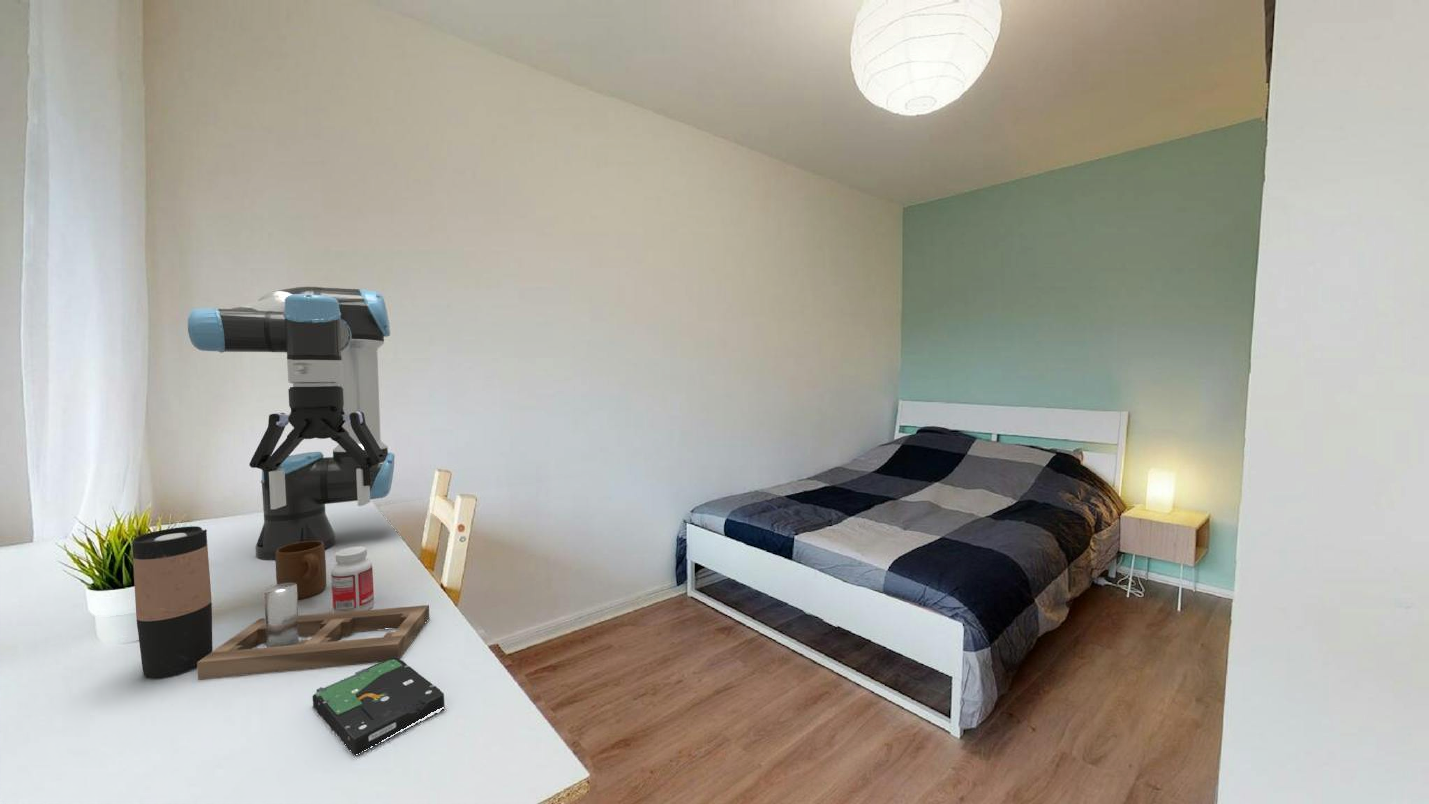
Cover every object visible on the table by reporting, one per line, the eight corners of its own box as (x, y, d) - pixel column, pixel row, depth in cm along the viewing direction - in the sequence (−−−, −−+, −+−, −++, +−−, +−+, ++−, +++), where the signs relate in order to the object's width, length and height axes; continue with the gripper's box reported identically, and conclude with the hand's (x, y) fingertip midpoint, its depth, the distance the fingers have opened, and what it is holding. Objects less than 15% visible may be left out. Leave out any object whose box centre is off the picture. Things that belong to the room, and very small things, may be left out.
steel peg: (277, 644, 81) (274, 583, 81) (305, 641, 82) (302, 581, 82) (260, 658, 77) (256, 594, 77) (290, 655, 78) (286, 592, 78)
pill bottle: (370, 598, 98) (367, 542, 97) (377, 609, 93) (375, 550, 93) (330, 609, 93) (327, 550, 93) (336, 621, 89) (333, 559, 88)
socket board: (261, 632, 85) (260, 618, 85) (429, 618, 90) (428, 605, 90) (198, 679, 72) (196, 662, 72) (398, 659, 77) (397, 643, 77)
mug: (341, 596, 98) (339, 549, 98) (292, 612, 92) (289, 561, 92) (319, 581, 105) (317, 537, 105) (272, 594, 99) (269, 548, 99)
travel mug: (124, 684, 71) (114, 544, 70) (167, 655, 78) (158, 528, 77) (192, 675, 73) (183, 539, 72) (227, 647, 80) (219, 524, 79)
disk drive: (447, 712, 66) (396, 672, 75) (446, 692, 66) (395, 653, 75) (355, 762, 58) (310, 710, 66) (354, 739, 57) (309, 689, 66)
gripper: (216, 386, 82) (224, 514, 83) (383, 385, 86) (388, 507, 87) (251, 385, 90) (257, 503, 91) (403, 384, 94) (407, 497, 95)
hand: (321, 505), depth 89 cm, fingers open, 13 cm apart
